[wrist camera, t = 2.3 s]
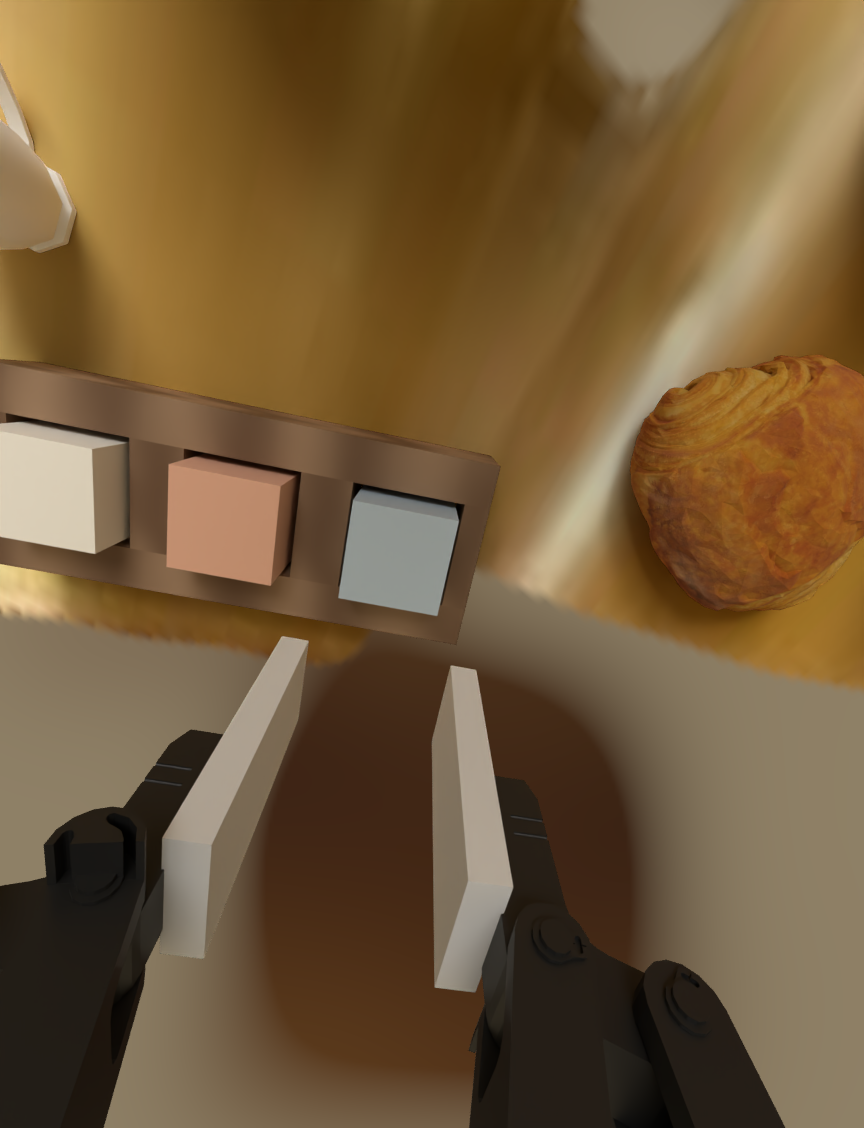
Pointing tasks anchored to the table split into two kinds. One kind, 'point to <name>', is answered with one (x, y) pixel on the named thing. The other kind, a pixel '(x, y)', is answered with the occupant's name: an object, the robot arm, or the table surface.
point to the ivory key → (64, 486)
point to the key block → (316, 448)
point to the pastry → (755, 481)
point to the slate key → (398, 550)
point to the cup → (28, 187)
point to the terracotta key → (231, 517)
